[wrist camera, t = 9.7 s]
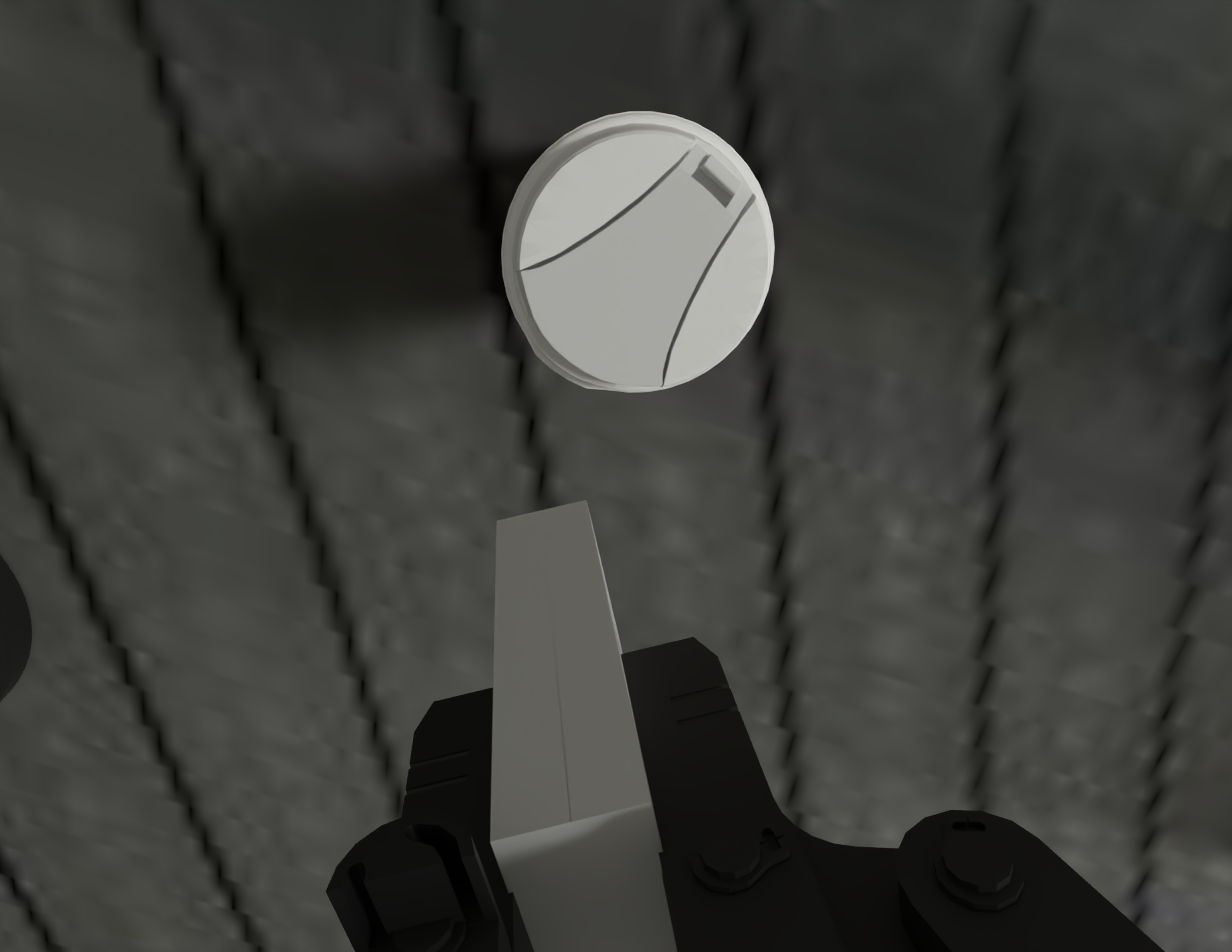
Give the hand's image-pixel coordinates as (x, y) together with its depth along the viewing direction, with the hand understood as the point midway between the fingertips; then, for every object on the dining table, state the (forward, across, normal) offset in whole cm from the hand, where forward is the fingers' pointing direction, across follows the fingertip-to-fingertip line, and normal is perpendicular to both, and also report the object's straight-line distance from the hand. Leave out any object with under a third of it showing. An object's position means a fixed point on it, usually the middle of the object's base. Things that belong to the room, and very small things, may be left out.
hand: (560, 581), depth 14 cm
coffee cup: (+27, +4, +2) cm, 27 cm away
